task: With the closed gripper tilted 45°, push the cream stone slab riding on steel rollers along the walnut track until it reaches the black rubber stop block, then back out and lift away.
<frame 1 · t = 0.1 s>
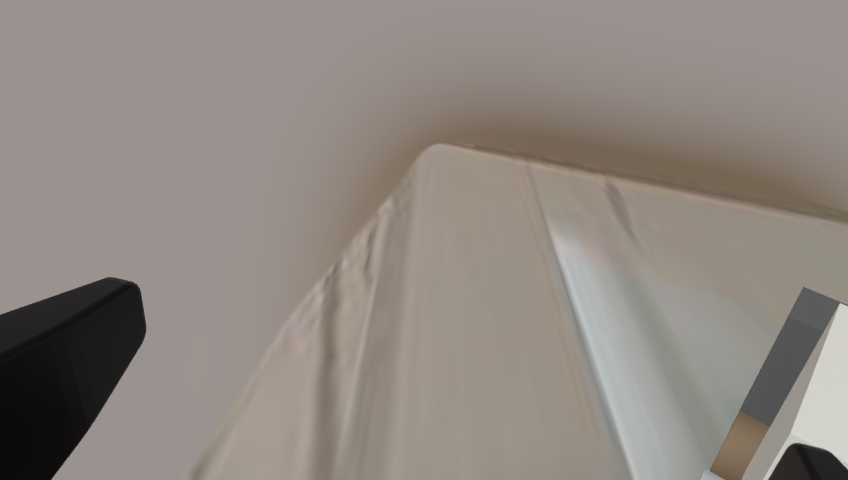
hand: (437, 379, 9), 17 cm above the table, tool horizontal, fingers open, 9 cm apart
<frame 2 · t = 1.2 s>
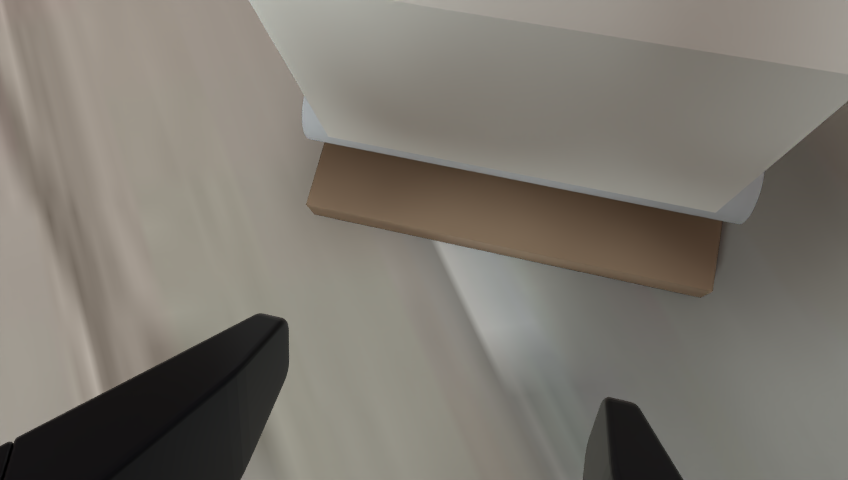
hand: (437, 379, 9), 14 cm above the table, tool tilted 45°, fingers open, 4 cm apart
roller track: (548, 34, 25), on the table
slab: (543, 21, 18), point 7 cm above the table, slide at 0.0 cm
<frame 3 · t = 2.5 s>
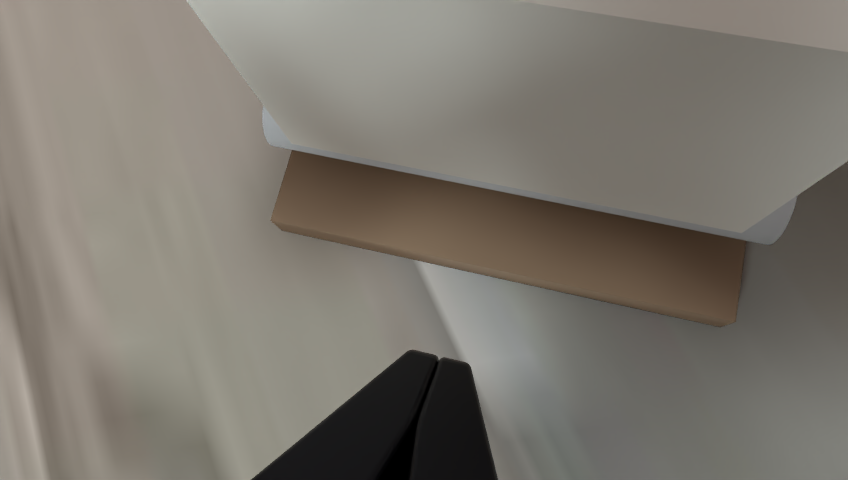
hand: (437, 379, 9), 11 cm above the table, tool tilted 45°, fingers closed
roller track: (545, 26, 22), on the table
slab: (539, 7, 15), point 7 cm above the table, slide at 0.0 cm
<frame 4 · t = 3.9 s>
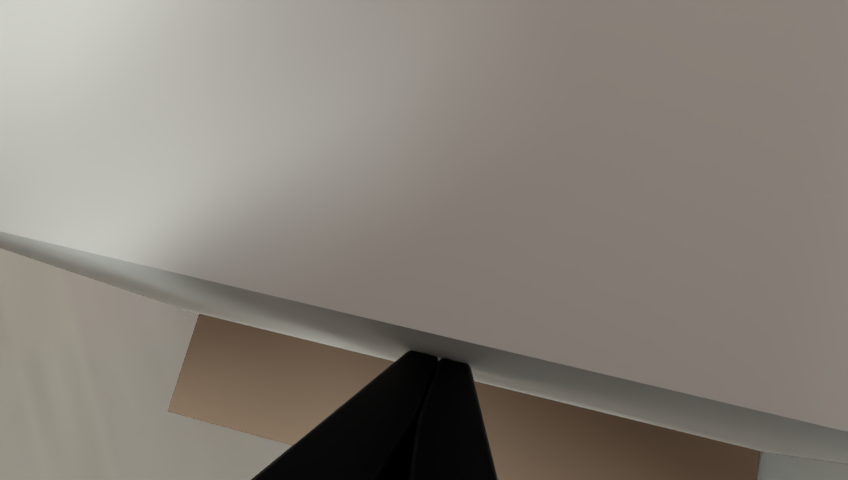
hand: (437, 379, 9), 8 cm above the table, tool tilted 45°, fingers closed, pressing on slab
roller track: (513, 154, 18), on the table
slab: (494, 170, 11), point 7 cm above the table, slide at 0.7 cm, touching gripper
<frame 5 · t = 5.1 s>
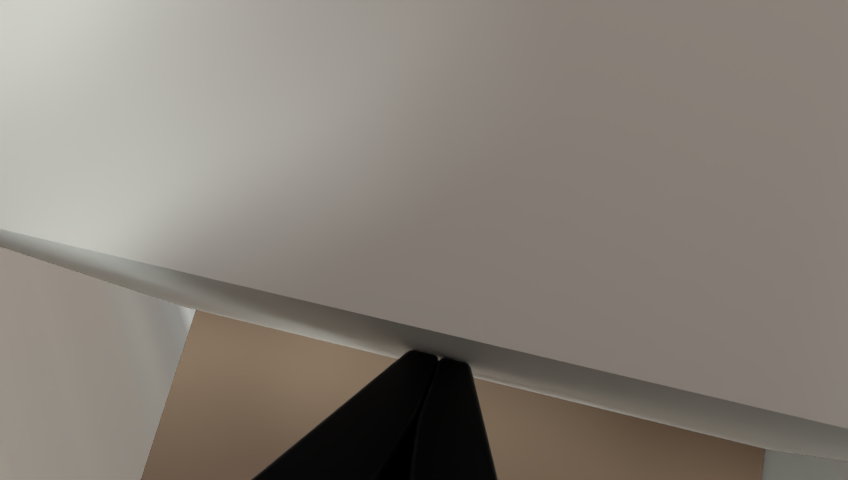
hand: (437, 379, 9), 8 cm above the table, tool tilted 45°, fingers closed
roller track: (479, 304, 17), on the table
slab: (494, 163, 11), point 7 cm above the table, slide at 5.3 cm
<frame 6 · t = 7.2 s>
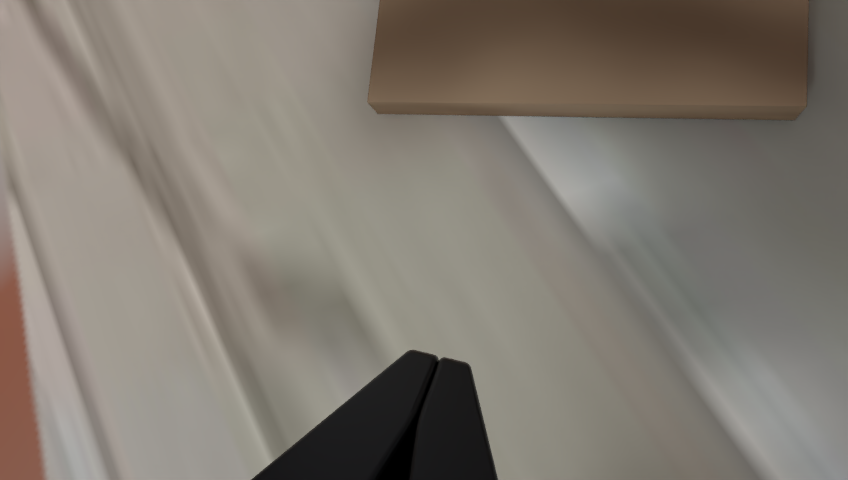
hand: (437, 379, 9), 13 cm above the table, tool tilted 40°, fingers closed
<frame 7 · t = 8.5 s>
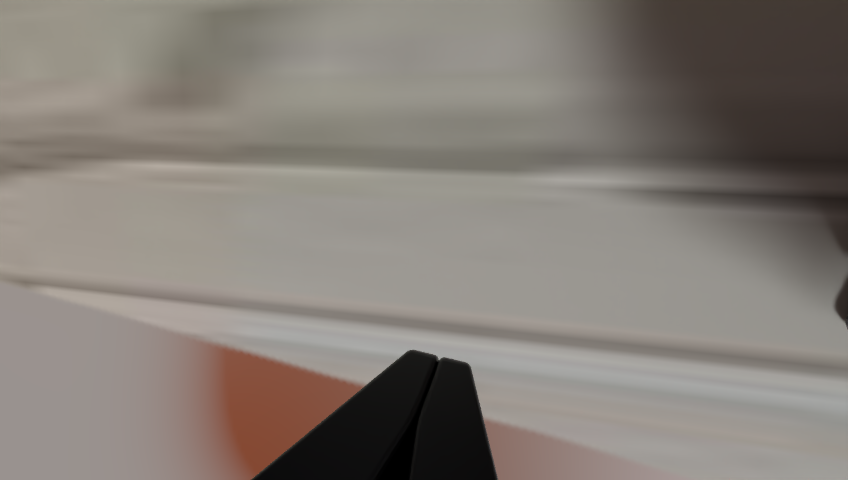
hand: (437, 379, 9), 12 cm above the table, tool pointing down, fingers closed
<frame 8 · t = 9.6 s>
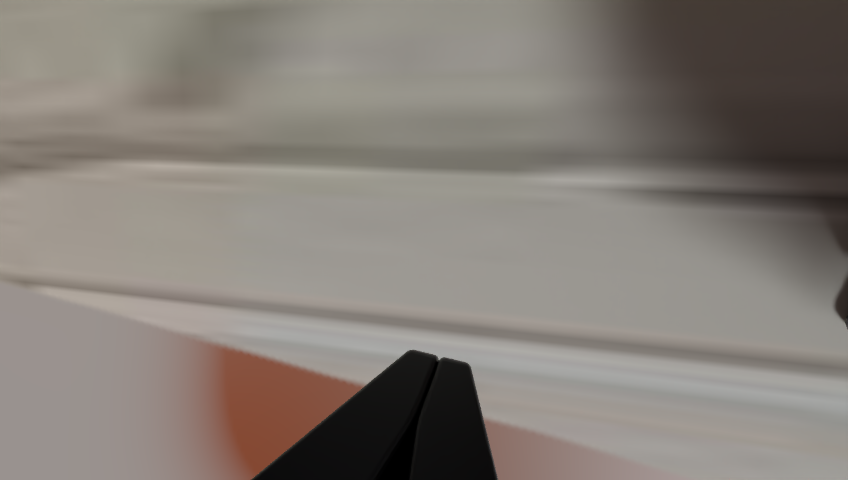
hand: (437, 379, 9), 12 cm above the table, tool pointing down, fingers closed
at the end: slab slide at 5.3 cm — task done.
